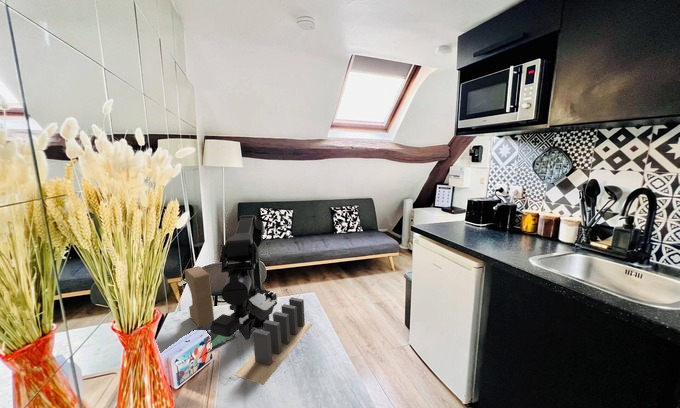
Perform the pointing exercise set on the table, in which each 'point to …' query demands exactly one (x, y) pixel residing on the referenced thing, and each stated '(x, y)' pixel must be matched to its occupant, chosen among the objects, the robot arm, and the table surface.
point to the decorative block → (200, 296)
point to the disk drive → (216, 337)
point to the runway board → (263, 372)
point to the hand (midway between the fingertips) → (247, 338)
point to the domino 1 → (262, 347)
